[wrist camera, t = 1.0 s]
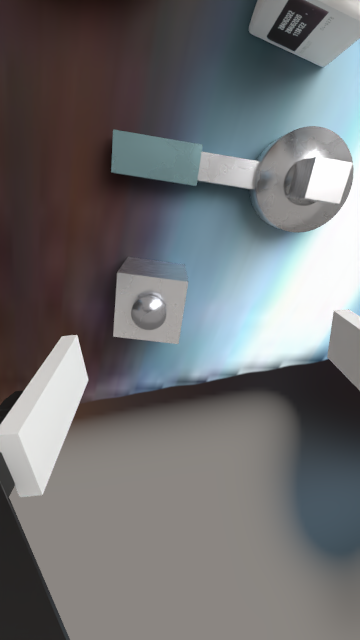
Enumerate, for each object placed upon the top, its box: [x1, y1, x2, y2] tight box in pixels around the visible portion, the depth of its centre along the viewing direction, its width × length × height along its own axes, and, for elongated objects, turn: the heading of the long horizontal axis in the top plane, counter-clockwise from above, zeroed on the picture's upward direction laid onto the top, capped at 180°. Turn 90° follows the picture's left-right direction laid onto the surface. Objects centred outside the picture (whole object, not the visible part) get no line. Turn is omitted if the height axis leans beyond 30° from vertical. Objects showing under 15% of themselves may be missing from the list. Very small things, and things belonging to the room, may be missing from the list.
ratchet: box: [111, 126, 353, 232], centre depth 27 cm, size 22×9×8 cm, turn 82°
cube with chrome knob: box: [113, 257, 188, 344], centre depth 31 cm, size 6×6×8 cm
